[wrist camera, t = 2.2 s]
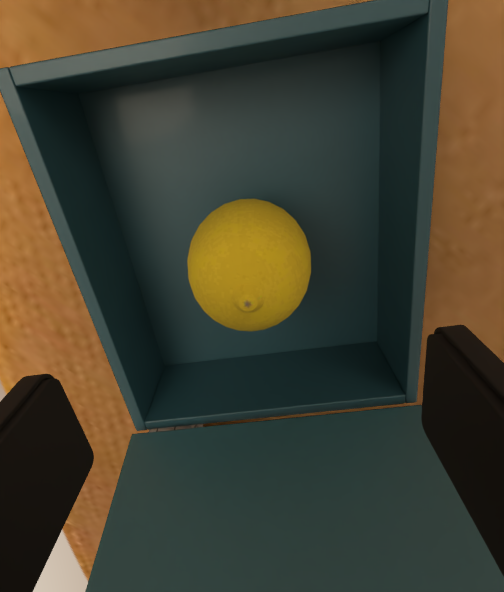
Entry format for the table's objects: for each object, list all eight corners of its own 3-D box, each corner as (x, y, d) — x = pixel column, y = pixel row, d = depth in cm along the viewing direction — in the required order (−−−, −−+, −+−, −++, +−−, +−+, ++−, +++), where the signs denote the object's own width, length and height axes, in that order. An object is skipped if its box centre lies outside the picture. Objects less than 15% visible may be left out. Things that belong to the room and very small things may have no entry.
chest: (67, 82, 17) (-10, 69, 12) (389, 25, 16) (450, -14, 11) (160, 367, 25) (136, 431, 20) (383, 342, 24) (417, 402, 19)
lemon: (185, 202, 19) (144, 255, 12) (286, 171, 18) (306, 207, 11) (219, 291, 22) (202, 380, 14) (310, 267, 21) (339, 347, 14)
